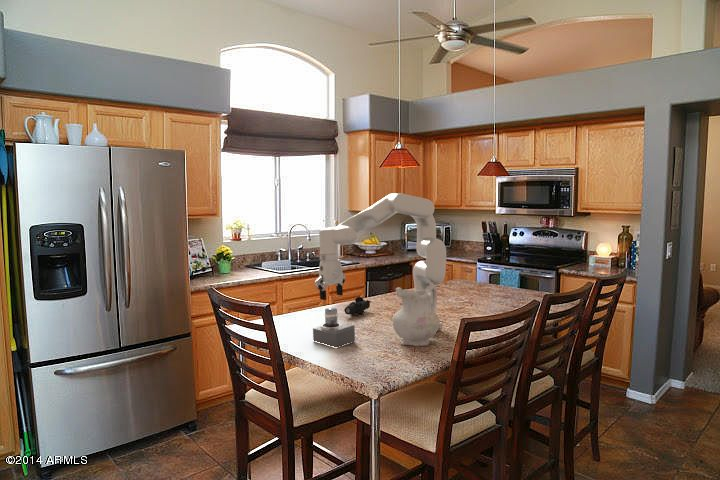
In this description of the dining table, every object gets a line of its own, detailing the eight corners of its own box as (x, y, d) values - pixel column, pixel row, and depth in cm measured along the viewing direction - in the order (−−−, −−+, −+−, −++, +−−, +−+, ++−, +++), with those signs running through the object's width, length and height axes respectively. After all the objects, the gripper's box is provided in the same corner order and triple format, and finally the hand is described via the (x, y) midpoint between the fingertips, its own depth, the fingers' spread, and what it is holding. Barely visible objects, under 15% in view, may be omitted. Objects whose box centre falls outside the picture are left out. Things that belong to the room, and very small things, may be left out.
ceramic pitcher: (414, 334, 222) (409, 279, 221) (452, 338, 210) (448, 280, 209) (385, 347, 206) (380, 288, 204) (425, 352, 193) (420, 289, 192)
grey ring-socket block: (354, 342, 209) (354, 323, 208) (336, 348, 201) (335, 329, 200) (331, 336, 219) (331, 318, 218) (313, 342, 211) (312, 323, 210)
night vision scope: (348, 323, 247) (335, 309, 251) (368, 316, 262) (356, 302, 265) (356, 312, 244) (343, 298, 248) (376, 306, 258) (364, 292, 262)
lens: (340, 327, 210) (340, 308, 210) (331, 330, 206) (331, 311, 205) (331, 325, 214) (331, 306, 213) (322, 327, 210) (322, 309, 209)
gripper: (320, 261, 198) (322, 302, 200) (350, 255, 211) (352, 294, 213) (308, 259, 203) (310, 300, 205) (337, 254, 216) (339, 292, 218)
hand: (331, 297), depth 209 cm, fingers open, 9 cm apart
